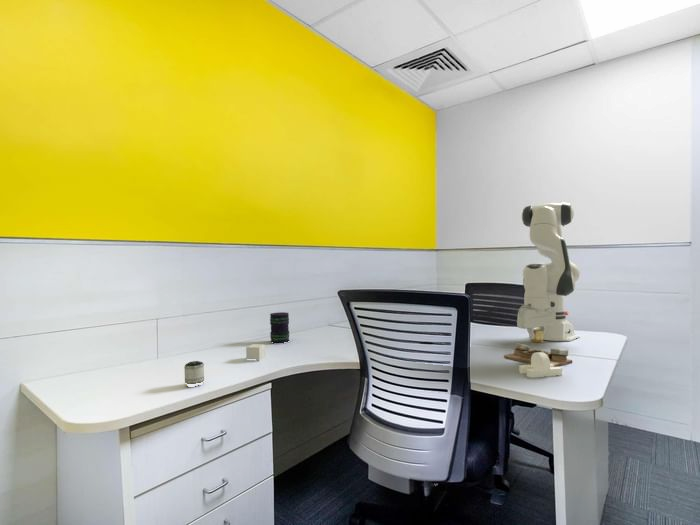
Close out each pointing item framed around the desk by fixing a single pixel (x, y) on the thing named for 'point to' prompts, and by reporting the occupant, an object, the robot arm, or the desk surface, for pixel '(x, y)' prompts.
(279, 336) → the storage jar
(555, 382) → the desk surface
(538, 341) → the coupler
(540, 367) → the slotted bracket
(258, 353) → the cream cube
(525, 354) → the bench
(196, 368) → the camera lens
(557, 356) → the angled shaft stand
